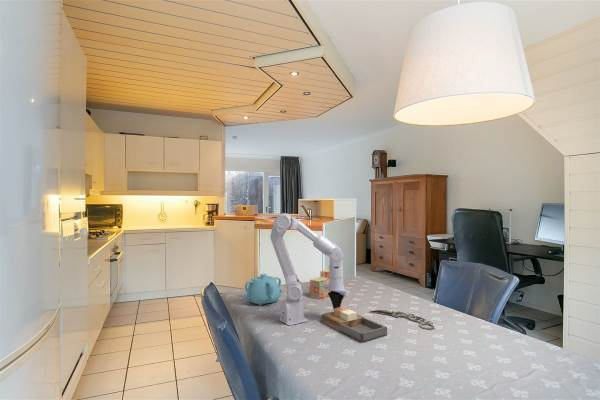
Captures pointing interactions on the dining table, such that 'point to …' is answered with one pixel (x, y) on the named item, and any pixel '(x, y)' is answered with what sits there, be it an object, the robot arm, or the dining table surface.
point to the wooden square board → (339, 321)
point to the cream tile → (348, 315)
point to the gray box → (364, 331)
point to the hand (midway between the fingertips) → (336, 310)
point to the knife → (407, 317)
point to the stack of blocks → (319, 285)
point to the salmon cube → (339, 311)
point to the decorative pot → (263, 289)
